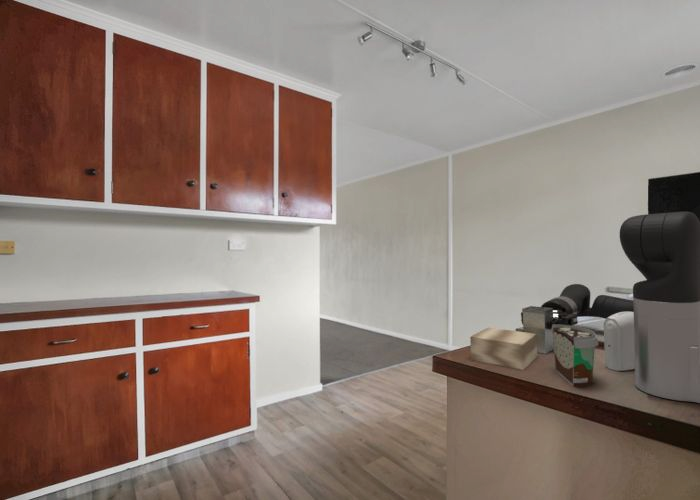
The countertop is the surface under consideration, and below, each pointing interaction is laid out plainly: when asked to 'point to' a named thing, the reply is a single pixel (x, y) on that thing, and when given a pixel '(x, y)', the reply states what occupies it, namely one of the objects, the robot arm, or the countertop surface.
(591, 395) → the countertop surface
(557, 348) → the food container
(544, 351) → the tin canister
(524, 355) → the beech block
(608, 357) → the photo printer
